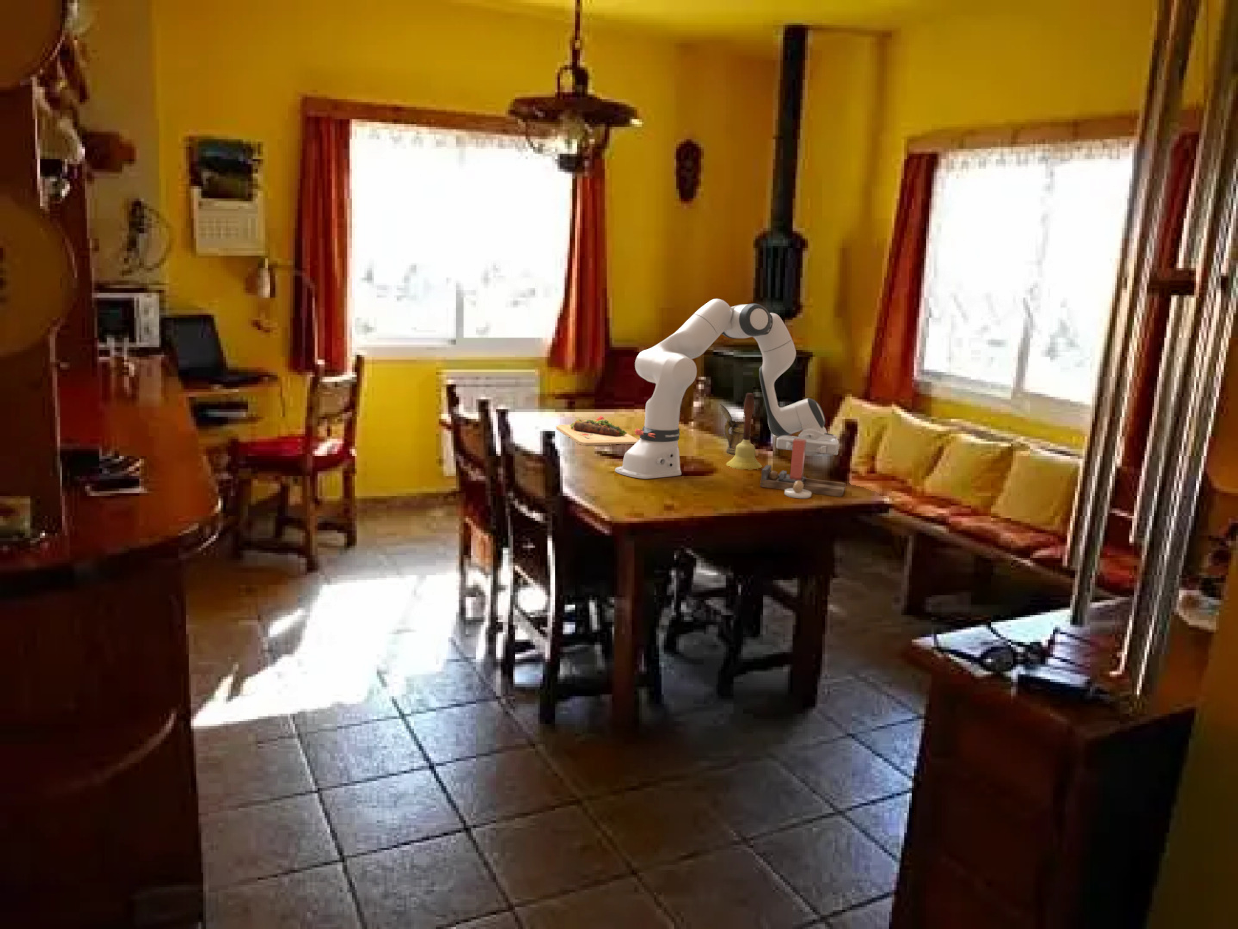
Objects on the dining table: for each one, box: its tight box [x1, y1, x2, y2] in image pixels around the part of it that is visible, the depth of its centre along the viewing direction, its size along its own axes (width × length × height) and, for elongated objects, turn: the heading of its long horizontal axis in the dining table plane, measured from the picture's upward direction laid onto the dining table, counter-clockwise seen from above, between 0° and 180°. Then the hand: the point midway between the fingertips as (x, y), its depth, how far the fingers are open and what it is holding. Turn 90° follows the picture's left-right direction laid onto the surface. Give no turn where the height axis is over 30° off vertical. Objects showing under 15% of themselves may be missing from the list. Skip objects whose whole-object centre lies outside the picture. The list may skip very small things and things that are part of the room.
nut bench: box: [759, 464, 846, 498], centre depth 301 cm, size 25×10×5 cm, turn 71°
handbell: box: [725, 392, 763, 471], centre depth 328 cm, size 12×12×25 cm
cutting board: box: [555, 415, 639, 447], centre depth 369 cm, size 35×23×8 cm
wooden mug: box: [719, 404, 752, 455], centre depth 349 cm, size 9×14×18 cm, turn 108°
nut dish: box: [784, 481, 812, 499], centre depth 292 cm, size 8×8×4 cm
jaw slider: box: [778, 439, 807, 484], centre depth 301 cm, size 8×7×14 cm
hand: (804, 449), depth 311 cm, fingers open, 8 cm apart
